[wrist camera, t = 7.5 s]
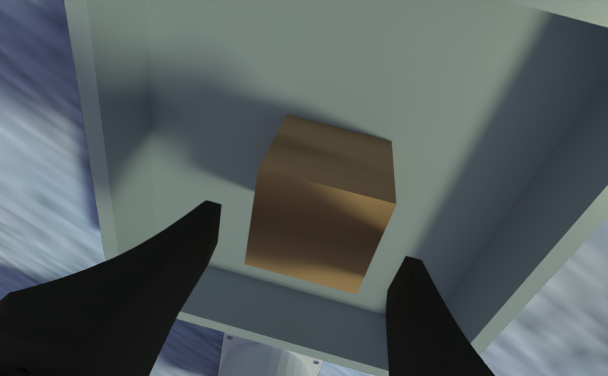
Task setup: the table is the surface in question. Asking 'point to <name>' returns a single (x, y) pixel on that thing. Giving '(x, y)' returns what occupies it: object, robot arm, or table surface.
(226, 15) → the slate bin
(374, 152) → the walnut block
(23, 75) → the table surface
